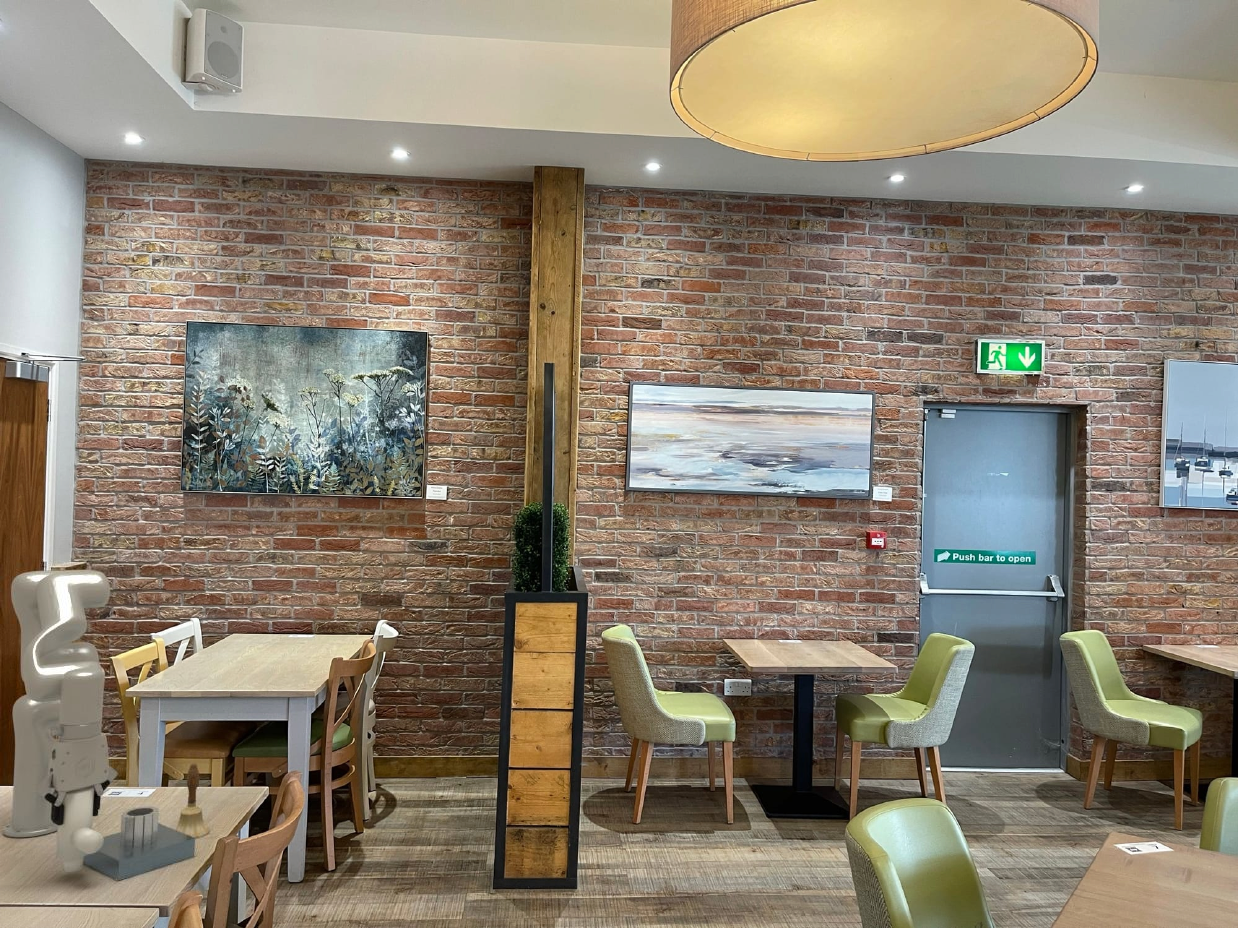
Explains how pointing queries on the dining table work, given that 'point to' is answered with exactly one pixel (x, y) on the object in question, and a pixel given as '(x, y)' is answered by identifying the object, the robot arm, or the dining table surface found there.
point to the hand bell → (192, 809)
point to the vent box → (140, 846)
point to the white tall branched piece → (77, 830)
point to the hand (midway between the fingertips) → (75, 818)
